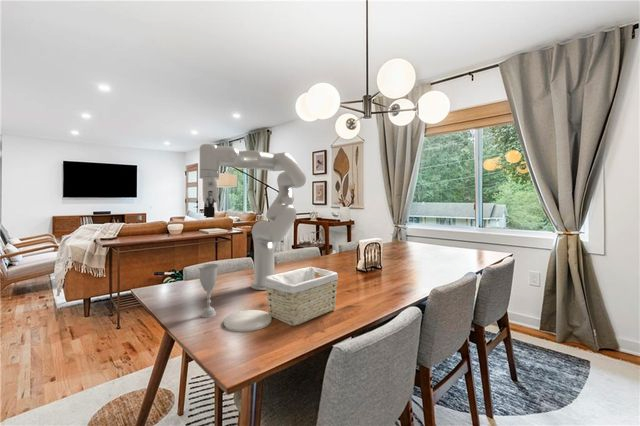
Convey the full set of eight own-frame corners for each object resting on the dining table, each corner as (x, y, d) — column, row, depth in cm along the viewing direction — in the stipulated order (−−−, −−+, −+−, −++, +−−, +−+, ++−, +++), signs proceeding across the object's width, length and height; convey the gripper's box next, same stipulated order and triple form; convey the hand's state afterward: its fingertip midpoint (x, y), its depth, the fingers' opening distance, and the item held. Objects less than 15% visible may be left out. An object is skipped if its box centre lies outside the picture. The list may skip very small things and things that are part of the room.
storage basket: (292, 329, 101) (292, 285, 100) (262, 316, 112) (262, 276, 111) (339, 310, 118) (340, 272, 117) (310, 300, 129) (310, 265, 128)
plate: (263, 310, 117) (263, 307, 117) (278, 325, 103) (278, 322, 103) (219, 317, 110) (219, 314, 110) (229, 335, 96) (229, 332, 96)
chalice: (202, 311, 116) (201, 263, 115) (220, 310, 117) (220, 263, 116) (196, 318, 109) (195, 268, 108) (215, 318, 110) (215, 268, 109)
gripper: (221, 174, 120) (221, 218, 121) (216, 176, 136) (216, 215, 136) (201, 172, 117) (200, 218, 117) (198, 176, 133) (197, 215, 133)
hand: (209, 216), depth 127 cm, fingers open, 9 cm apart
